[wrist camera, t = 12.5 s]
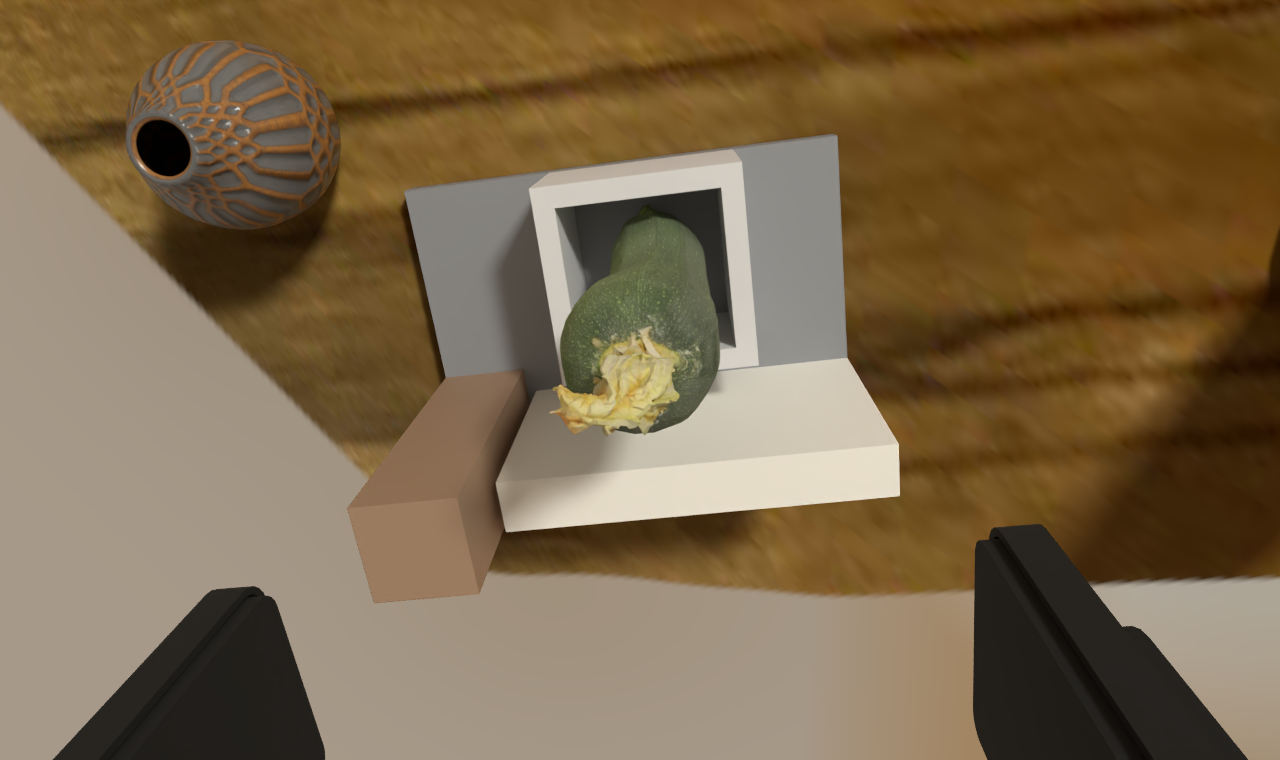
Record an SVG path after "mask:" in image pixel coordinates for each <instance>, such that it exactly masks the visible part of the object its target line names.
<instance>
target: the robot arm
mask: <svg viewBox="0 0 1280 760" xmlns="http://www.w3.org/2000/svg"><path fill="white" fill-rule="evenodd" d="M973 680H974V683H973V713H974V714H973V715H974V722H975V727H976V731H977V735H978V738H979V741H980V743H981V746H982V748H983V750H984V752H985V755H986V757H987V760H1248V759H1247V758H1246V756H1245V755H1244V754H1243V753H1242V751H1241V750H1240V749H1239V748H1238V747H1237V745H1236V744H1235V743H1234V742H1233V740H1232V739H1231V738H1230V737H1229V735H1228V734H1227V733H1226V732H1225V731H1224V729H1223V728H1222V727H1221V726H1220V724H1219V723H1218V722H1217V721H1216V719H1215V718H1214V717H1213V716H1212V715H1211V713H1210V712H1209V711H1208V710H1207V708H1206V707H1205V706H1204V705H1203V703H1202V702H1201V701H1200V700H1199V698H1198V697H1197V696H1196V695H1195V693H1194V692H1193V691H1192V690H1191V689H1190V687H1189V686H1188V685H1187V684H1186V683H1185V681H1184V680H1183V679H1182V677H1181V676H1180V675H1179V674H1178V672H1177V671H1176V670H1175V669H1174V668H1173V666H1172V665H1171V664H1170V663H1169V661H1168V660H1167V659H1166V658H1165V656H1164V655H1163V654H1162V653H1161V652H1160V650H1159V649H1158V648H1157V647H1156V645H1155V644H1154V643H1153V642H1152V640H1151V639H1150V638H1149V637H1148V636H1147V635H1146V634H1145V633H1144V632H1143V631H1142V630H1141V629H1138V628H1136V627H1133V626H1126V627H1122V626H1121V625H1120V624H1119V622H1118V621H1117V620H1116V618H1115V617H1114V616H1113V614H1112V613H1111V612H1110V611H1109V609H1108V608H1107V607H1106V605H1105V604H1104V603H1103V602H1102V600H1101V599H1100V598H1099V597H1098V595H1097V594H1096V593H1095V591H1094V590H1093V589H1092V587H1091V586H1090V585H1089V584H1088V582H1087V581H1086V580H1085V578H1084V577H1083V576H1082V575H1081V573H1080V572H1079V571H1078V569H1077V568H1076V567H1075V565H1074V564H1073V563H1072V562H1071V560H1070V559H1069V558H1068V556H1067V555H1066V554H1065V553H1064V551H1063V550H1062V549H1061V547H1060V546H1059V545H1058V544H1057V542H1056V541H1055V540H1054V538H1053V537H1052V536H1051V535H1050V533H1049V532H1048V531H1047V529H1046V528H1045V527H1043V526H1042V525H1040V524H1033V525H1021V526H1008V527H995V528H993V529H992V530H991V533H990V536H989V540H979V541H978V542H977V543H976V548H975V602H974V679H973ZM53 760H325V750H324V745H323V742H322V739H321V737H320V733H319V730H318V727H317V724H316V721H315V718H314V715H313V712H312V709H311V706H310V703H309V700H308V697H307V694H306V691H305V688H304V685H303V682H302V679H301V676H300V673H299V670H298V667H297V664H296V661H295V658H294V655H293V652H292V649H291V646H290V643H289V640H288V637H287V634H286V631H285V628H284V625H283V622H282V619H281V616H280V613H279V610H278V607H277V604H276V602H275V600H274V599H273V598H272V597H269V596H265V595H264V593H263V592H262V591H261V590H260V589H259V588H257V587H254V586H251V587H238V588H226V589H216V590H212V591H210V592H209V593H208V594H206V595H205V596H204V597H203V598H202V600H201V601H200V602H199V603H198V604H197V605H196V606H195V607H194V608H193V609H192V610H191V611H190V612H189V614H188V615H187V616H186V617H185V618H184V619H183V620H182V621H181V622H180V623H179V624H178V625H177V627H176V628H175V629H174V630H173V631H172V632H171V633H170V634H169V635H168V636H167V637H166V638H165V639H164V641H163V642H162V643H161V644H160V645H159V646H158V647H157V648H156V649H155V650H154V651H153V653H151V654H150V656H149V657H148V658H147V659H146V660H145V661H144V662H143V663H142V664H141V665H140V666H139V667H138V668H137V670H136V671H135V672H134V673H133V674H132V675H131V676H130V677H129V678H128V679H127V680H126V681H125V683H124V684H123V685H122V686H121V687H120V688H119V689H118V690H117V691H116V693H114V694H113V695H112V697H111V698H110V699H109V700H108V701H107V702H106V703H105V704H104V705H103V706H102V707H101V709H99V711H98V712H97V713H96V714H95V715H94V716H93V717H92V718H91V719H90V720H89V721H88V723H86V725H85V726H84V727H83V728H82V729H81V730H80V731H79V732H78V733H77V734H76V735H75V737H74V738H73V739H72V740H71V741H70V742H69V743H68V744H67V745H66V746H65V747H64V748H63V749H62V750H61V751H60V753H59V754H58V755H57V756H56V757H55V758H54V759H53Z"/></svg>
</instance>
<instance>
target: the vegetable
mask: <svg viewBox="0 0 1280 760" xmlns="http://www.w3.org/2000/svg"><path fill="white" fill-rule="evenodd" d="M560 354H561V363H562V368H563V372H564V377H565V381H566V385H567V388H566V387H564V386H563V385H559V386H558V387H554V388H553V391H557V393H556V394H557V395H558V396H559V400H560V404H561V408H560V409H558V410H556V411H550V414H557V415H559V416H560V417H561V418H562V420H563V421H564V423H565V424H566V426H567V427H568V428H569V430H570V431H571V432H572V433H573V434H578V433H580V432H582V431H583V430H585V429H587V428H589V427H591V425H596V426H600V427H602V432H603V433H604V435H606V436H607V437H608V435H609V434H612V433H614V432H615V431H614V430H617V431H622V432H627V433H632V434H643V435H646V434H647V433H654V432H657V431H660V430H663V429H665V428H668V427H671V426H673V425H676V424H679V423H681V422H683V421H684V420H686V419H687V418H689V417H690V416H691V415H692V413H693V412H694V411H695V410H696V409H697V408H698V406H699V405H700V403H701V402H702V401H703V399H704V398H705V396H706V395H707V393H708V391H709V389H710V387H711V385H712V383H713V381H714V380H715V378H716V375H717V371H718V368H719V364H720V339H719V334H718V318H717V314H716V310H715V305H714V302H713V300H712V298H711V295H710V289H709V284H708V280H707V271H706V263H705V255H704V251H703V248H702V246H701V244H700V242H699V241H698V239H697V237H696V235H695V234H694V232H693V231H692V229H691V228H689V227H688V226H687V225H686V224H684V223H683V222H682V221H680V220H679V219H678V218H676V217H675V216H674V215H672V214H669V213H665V212H659V211H657V210H655V209H652V208H651V207H650V205H645V206H643V207H642V208H641V210H640V212H639V214H638V216H635V217H633V218H631V219H629V220H628V221H627V222H626V223H625V224H624V226H623V228H622V229H621V231H620V233H619V235H618V236H617V238H616V240H615V242H614V244H613V246H612V260H611V268H610V273H609V276H607V277H605V278H603V279H601V280H599V281H597V282H596V283H595V284H594V285H592V286H591V287H590V288H589V289H588V290H587V291H586V292H585V293H584V294H583V296H582V297H581V298H580V299H579V300H578V301H577V303H576V304H575V305H574V307H573V309H572V311H571V312H570V314H569V316H568V317H567V319H566V321H565V324H564V328H563V331H562V335H561V338H560Z"/></svg>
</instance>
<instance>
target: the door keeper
mask: <svg viewBox="0 0 1280 760" xmlns="http://www.w3.org/2000/svg"><path fill="white" fill-rule="evenodd" d="M404 193H405V197H406V202H407V206H408V210H409V215H410V219H411V224H412V228H413V233H414V237H415V242H416V246H417V251H418V255H419V260H420V264H421V269H422V273H423V278H424V282H425V286H426V291H427V295H428V300H429V304H430V309H431V313H432V318H433V322H434V327H435V331H436V336H437V340H438V345H439V349H440V354H441V358H442V363H443V367H444V371H445V376H446V378H445V379H444V381H443V382H442V383H441V385H440V386H439V387H438V389H437V390H436V391H435V393H434V394H433V395H432V397H431V398H430V399H429V401H428V402H427V403H426V405H425V406H424V407H423V409H422V410H421V411H420V413H419V414H418V415H417V417H416V418H415V419H414V421H413V422H412V423H411V424H410V426H409V427H408V428H407V430H406V431H405V432H404V434H403V435H402V436H401V438H400V439H399V440H398V442H397V443H396V444H395V446H394V447H393V448H392V450H391V451H390V452H389V454H388V455H387V456H386V458H385V459H384V460H383V462H382V463H381V464H380V466H379V467H378V468H377V469H376V471H375V472H374V473H373V475H372V476H371V477H370V479H369V480H368V481H367V483H366V484H365V485H364V487H363V488H362V489H361V491H360V492H359V493H358V495H357V496H356V497H355V499H354V500H353V501H352V503H351V504H350V505H349V507H348V508H347V510H348V513H349V517H350V520H351V523H352V527H353V531H354V534H355V538H356V541H357V545H358V548H359V552H360V555H361V559H362V562H363V566H364V570H365V573H366V576H367V580H368V584H369V587H370V591H371V594H372V597H373V601H374V603H381V602H391V601H404V600H416V599H426V598H439V597H450V596H462V595H474V594H479V593H480V590H481V588H482V585H483V582H484V580H485V577H486V575H487V572H488V570H489V567H490V564H491V562H492V559H493V556H494V554H495V551H496V548H497V546H498V543H499V540H500V538H501V535H502V532H503V530H504V527H505V530H506V532H514V531H525V530H536V529H547V528H558V527H569V526H580V525H590V524H601V523H612V522H623V521H634V520H645V519H656V518H667V517H677V516H688V515H699V514H710V513H721V512H732V511H743V510H754V509H764V508H775V507H786V506H797V505H808V504H819V503H830V502H841V501H851V500H862V499H873V498H884V497H895V496H900V482H899V444H898V442H897V440H896V439H895V437H894V435H893V434H892V432H891V430H890V429H889V427H888V425H887V424H886V422H885V420H884V419H883V417H882V415H881V414H880V412H879V410H878V409H877V407H876V405H875V404H874V402H873V400H872V399H871V397H870V395H869V394H868V392H867V390H866V389H865V387H864V385H863V384H862V382H861V380H860V379H859V377H858V375H857V373H856V372H855V370H854V368H853V367H852V365H851V363H850V362H849V360H848V358H847V343H846V321H845V298H844V275H843V253H842V230H841V207H840V185H839V162H838V140H837V135H834V134H828V135H821V136H813V137H805V138H797V139H789V140H782V141H774V142H766V143H758V144H751V145H743V146H735V147H727V148H720V149H712V150H704V151H696V152H689V153H681V154H673V155H665V156H658V157H650V158H642V159H634V160H627V161H619V162H611V163H603V164H595V165H588V166H580V167H572V168H564V169H557V170H549V171H541V172H533V173H526V174H518V175H510V176H502V177H495V178H487V179H479V180H471V181H464V182H456V183H448V184H440V185H432V186H425V187H417V188H411V189H408V190H406V191H404ZM645 205H650V207H651V208H652V209H655V210H657V211H659V212H665V213H669V214H672V215H674V216H675V217H676V218H678V219H679V220H680V221H682V222H683V223H684V224H686V225H687V226H688V227H689V228H691V229H692V231H693V232H694V234H695V235H696V237H697V239H698V241H699V242H700V244H701V246H702V248H703V251H704V255H705V263H706V271H707V280H708V284H709V289H710V295H711V298H712V300H713V302H714V305H715V310H716V314H717V318H718V334H719V339H720V364H719V368H718V371H717V375H716V378H715V380H714V381H713V383H712V385H711V387H710V389H709V391H708V393H707V395H706V396H705V398H704V399H703V401H702V402H701V403H700V405H699V406H698V408H697V409H696V410H695V411H694V412H693V413H692V415H691V416H690V417H689V418H687V419H686V420H684V421H683V422H681V423H679V424H676V425H673V426H671V427H668V428H665V429H663V430H660V431H657V432H654V433H647V434H646V435H643V434H632V433H627V432H622V431H617V430H614V431H615V432H614V433H612V434H609V435H608V437H607V436H606V435H604V433H603V432H602V427H600V426H596V425H591V427H589V428H587V429H585V430H583V431H582V432H580V433H578V434H573V433H572V432H571V431H570V430H569V428H568V427H567V426H566V424H565V423H564V421H563V420H562V418H561V417H560V416H559V415H557V414H550V411H556V410H558V409H560V408H561V404H560V400H559V396H558V395H557V394H556V393H557V391H553V388H554V387H558V386H559V385H563V386H564V387H566V388H567V385H566V381H565V377H564V372H563V368H562V363H561V354H560V338H561V335H562V331H563V328H564V324H565V321H566V319H567V317H568V316H569V314H570V312H571V311H572V309H573V307H574V305H575V304H576V303H577V301H578V300H579V299H580V298H581V297H582V296H583V294H584V293H585V292H586V291H587V290H588V289H589V288H590V287H591V286H592V285H594V284H595V283H596V282H597V281H599V280H601V279H603V278H605V277H607V276H609V273H610V268H611V260H612V246H613V244H614V242H615V240H616V238H617V236H618V235H619V233H620V231H621V229H622V228H623V226H624V224H625V223H626V222H627V221H628V220H629V219H631V218H633V217H635V216H638V214H639V212H640V210H641V208H642V207H643V206H645Z"/></svg>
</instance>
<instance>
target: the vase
mask: <svg viewBox="0 0 1280 760" xmlns="http://www.w3.org/2000/svg"><path fill="white" fill-rule="evenodd" d="M126 147H127V151H128V155H129V157H130V159H131V161H132V163H133V165H134V166H135V167H136V169H137V170H138V171H139V172H140V174H141V176H142V177H143V179H144V180H145V182H146V183H147V184H148V185H149V187H150V188H151V189H152V190H153V191H154V192H155V193H156V194H157V195H158V196H159V197H160V198H161V199H162V200H163V201H165V202H166V203H167V204H168V205H170V206H171V207H172V208H174V209H175V210H177V211H179V212H181V213H182V214H184V215H186V216H188V217H190V218H192V219H195V220H197V221H200V222H203V223H206V224H209V225H213V226H217V227H222V228H228V229H240V230H248V229H260V228H266V227H270V226H274V225H277V224H280V223H283V222H285V221H288V220H290V219H292V218H294V217H296V216H298V215H300V214H301V213H303V212H304V211H306V210H307V209H309V208H310V207H311V206H312V205H314V204H315V203H316V202H317V201H318V200H319V198H320V197H321V196H322V195H323V194H324V192H325V191H326V190H327V188H328V187H329V185H330V183H331V181H332V179H333V177H334V175H335V172H336V169H337V166H338V162H339V157H340V147H341V142H340V131H339V126H338V122H337V118H336V115H335V113H334V110H333V108H332V106H331V104H330V102H329V100H328V98H327V96H326V95H325V93H324V92H323V90H322V89H321V87H320V86H319V85H318V84H317V83H316V82H315V80H314V79H313V78H312V77H311V76H310V75H309V74H308V73H307V72H306V71H305V70H303V69H302V68H301V67H300V66H298V65H297V64H296V63H294V62H293V61H291V60H290V59H288V58H286V57H285V56H283V55H281V54H279V53H277V52H275V51H273V50H271V49H268V48H265V47H262V46H259V45H255V44H251V43H246V42H240V41H231V40H211V41H203V42H198V43H194V44H190V45H187V46H184V47H182V48H179V49H177V50H175V51H173V52H171V53H169V54H168V55H166V56H164V57H163V58H161V59H160V60H159V61H157V62H156V63H155V64H154V65H152V66H151V67H150V68H149V69H148V70H147V71H146V72H145V74H144V75H143V76H142V77H141V79H140V80H139V82H138V83H137V85H136V87H135V88H134V90H133V92H132V95H131V98H130V101H129V104H128V109H127V114H126Z"/></svg>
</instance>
